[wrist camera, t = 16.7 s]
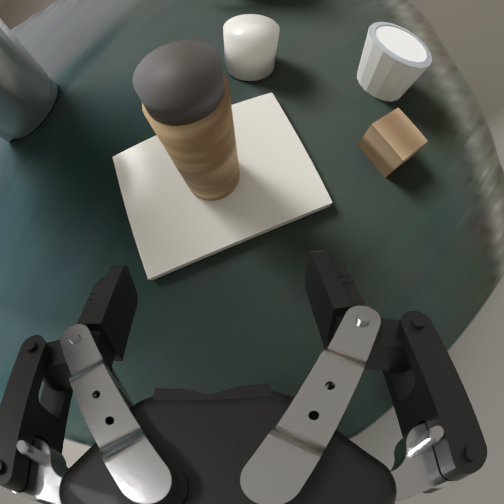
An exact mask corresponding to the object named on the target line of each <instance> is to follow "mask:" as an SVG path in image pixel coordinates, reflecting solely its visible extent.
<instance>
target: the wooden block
mask: <svg viewBox="0 0 504 504" xmlns="http://www.w3.org/2000/svg"><path fill="white" fill-rule="evenodd" d="M426 142H428V141H427V140H426V138H425V137H424V136H423V135H422V133H421V132H420V131H419V130H418V129H417V128H416V126H415V125H414V124H413V123H412V122H411V121H410V120H409V119H408V117H407V116H406V115H405V114H404V113H403V112H402V111H401V110H400V109H399V108H397V109H395V110H393V111H392V112H390V113H389V114H387V115H385V116H384V117H382V118H381V119H379V120H377V121H376V122H374V123H373V124H371V126H370V127H369V129H368V130H367V132H366V133H365V135H364V137H363V138H362V140H361V141H360V143H359V144H358V146H359V147H360V148H361V149H362V150H363V152H364V153H365V154H366V155H367V156H368V157H369V159H370V160H371V161H372V162H373V163H374V165H375V166H376V167H377V168H378V169H379V171H380V172H381V173H382V174H383V176H384V177H385V178H386V177H387V176H388V175H389V174H391V173H392V172H393V171H394V170H396V169H397V168H398V167H399V166H401V165H402V164H403V163H404V162H406V161H407V160H408V159H409V158H410V157H412V156H413V155H414V154H415V153H416V152H417V151H418V150H419V149H420V148H421V147H422V146H423V145H424V144H425V143H426Z"/></svg>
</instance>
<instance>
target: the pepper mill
mask: <svg viewBox="0 0 504 504" xmlns="http://www.w3.org/2000/svg"><path fill="white" fill-rule="evenodd" d="M133 86H134V89H135V91H136V92H137V94H138V96H139V98H140V100H141V101H142V109H143V112H144V115H145V117H146V118H147V120H148V122H149V123H150V125H151V127H152V128H153V130H154V131H155V133H156V135H157V136H158V138H159V140H160V141H161V143H162V145H163V146H164V148H165V150H166V151H167V153H168V155H169V156H170V158H171V159H172V161H173V163H174V164H175V166H176V168H177V169H178V171H179V173H180V174H181V176H182V177H183V179H184V181H185V182H186V184H187V185H188V187H189V189H190V190H191V192H192V193H193V194H194V195H195V196H197V197H198V198H200V199H203V200H207V201H216V200H220V199H223V198H225V197H227V196H228V195H230V194H231V193H232V192H233V191H234V190H235V188H236V187H237V185H238V182H239V179H240V170H239V162H238V154H237V146H236V138H235V130H234V122H233V114H232V106H231V98H230V90H229V84H228V81H227V78H226V77H225V75H224V74H223V70H222V63H221V57H220V54H219V52H218V51H217V50H216V49H215V48H214V47H213V46H211V45H210V44H208V43H205V42H202V41H198V40H181V41H175V42H171V43H168V44H165V45H163V46H161V47H159V48H157V49H155V50H154V51H152V52H151V53H149V54H148V55H147V56H146V57H145V58H144V59H143V60H142V61H141V62H140V63H139V65H138V66H137V68H136V69H135V72H134V75H133Z"/></svg>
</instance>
